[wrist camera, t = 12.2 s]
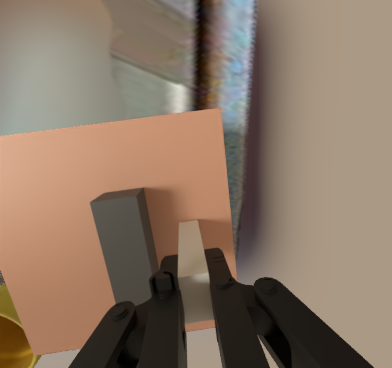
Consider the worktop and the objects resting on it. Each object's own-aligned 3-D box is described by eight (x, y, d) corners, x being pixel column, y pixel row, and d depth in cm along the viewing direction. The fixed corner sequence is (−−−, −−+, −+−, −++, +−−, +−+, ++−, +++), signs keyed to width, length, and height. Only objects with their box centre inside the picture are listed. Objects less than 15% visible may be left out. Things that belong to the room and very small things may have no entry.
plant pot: (94, 295, 31) (57, 363, 22) (38, 324, 32) (-24, 404, 22) (53, 242, 29) (-9, 292, 19) (-7, 274, 29) (-98, 339, 20)
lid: (43, 342, 19) (11, 388, 16) (-32, 142, 15) (-98, 142, 12) (238, 312, 20) (249, 349, 16) (218, 110, 16) (227, 101, 12)
